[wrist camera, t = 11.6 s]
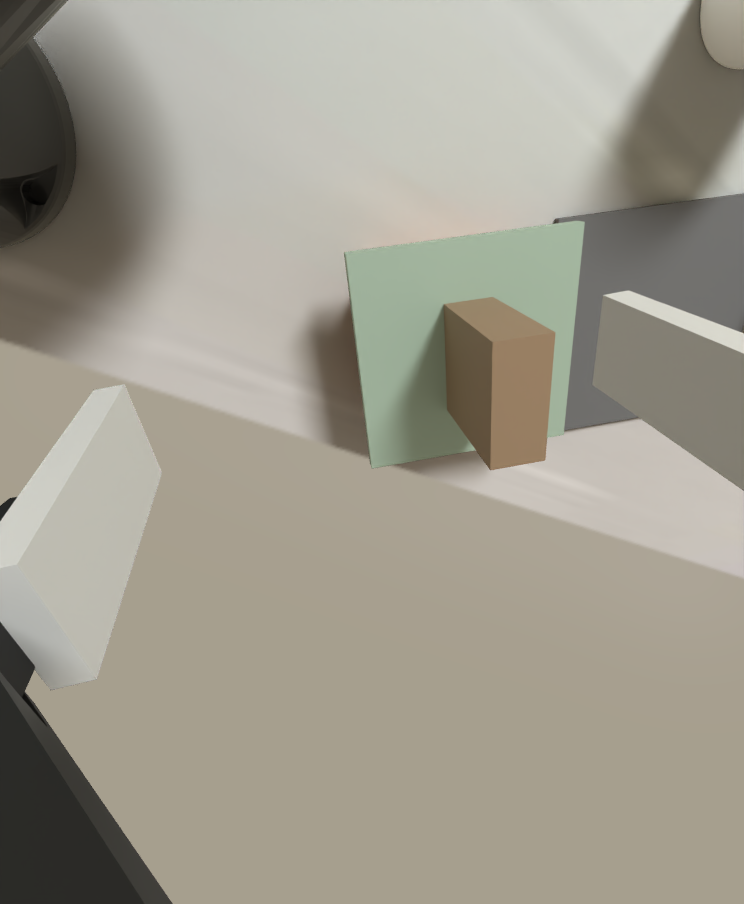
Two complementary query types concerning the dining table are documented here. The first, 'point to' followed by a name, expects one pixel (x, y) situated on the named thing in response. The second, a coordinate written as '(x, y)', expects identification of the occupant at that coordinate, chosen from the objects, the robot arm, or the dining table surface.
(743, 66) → the candle holder
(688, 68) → the dining table surface
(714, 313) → the mat
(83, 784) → the robot arm
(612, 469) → the dining table surface
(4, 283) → the dining table surface
